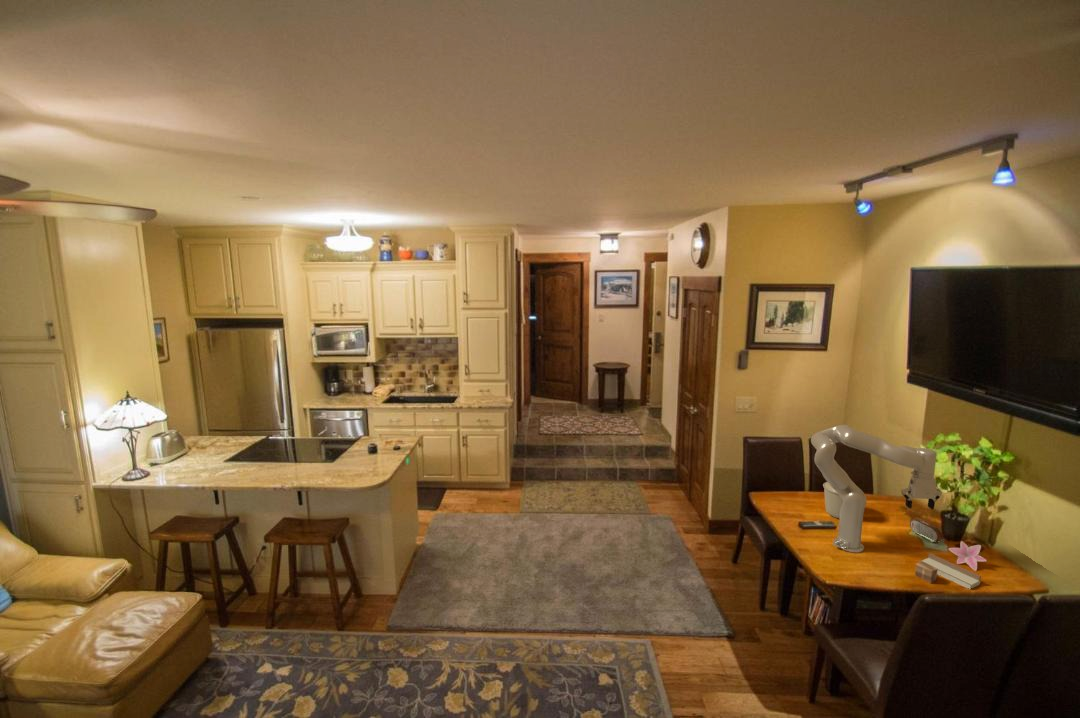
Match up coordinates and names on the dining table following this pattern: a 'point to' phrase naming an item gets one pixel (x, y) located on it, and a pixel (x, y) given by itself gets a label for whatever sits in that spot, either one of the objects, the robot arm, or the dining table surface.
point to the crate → (926, 572)
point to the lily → (968, 555)
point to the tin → (926, 529)
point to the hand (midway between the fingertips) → (919, 507)
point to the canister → (832, 501)
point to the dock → (953, 572)
